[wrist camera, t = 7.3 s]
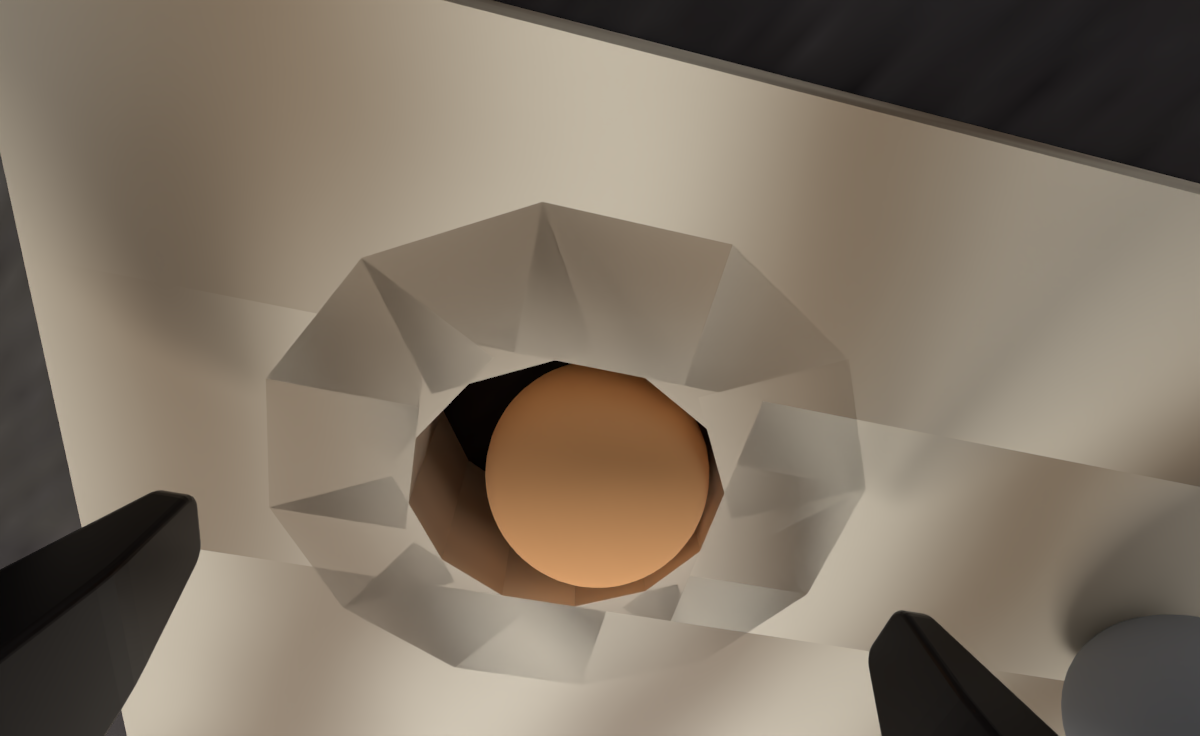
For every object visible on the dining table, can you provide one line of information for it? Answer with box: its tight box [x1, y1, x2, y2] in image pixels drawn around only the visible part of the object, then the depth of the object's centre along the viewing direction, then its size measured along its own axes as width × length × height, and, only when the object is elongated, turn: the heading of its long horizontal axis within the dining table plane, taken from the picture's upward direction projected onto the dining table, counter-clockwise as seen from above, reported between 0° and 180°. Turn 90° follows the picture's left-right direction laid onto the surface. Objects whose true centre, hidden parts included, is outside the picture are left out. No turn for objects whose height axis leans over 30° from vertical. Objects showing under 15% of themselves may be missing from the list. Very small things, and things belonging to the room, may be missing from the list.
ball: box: [485, 364, 709, 588], centre depth 10 cm, size 4×4×4 cm
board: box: [0, 0, 1200, 736], centre depth 14 cm, size 20×24×2 cm
